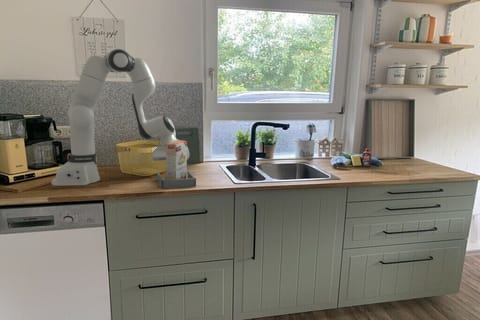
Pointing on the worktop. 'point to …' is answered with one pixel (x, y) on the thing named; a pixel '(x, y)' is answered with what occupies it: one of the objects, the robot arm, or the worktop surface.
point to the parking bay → (177, 181)
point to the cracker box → (176, 160)
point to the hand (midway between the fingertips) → (172, 165)
